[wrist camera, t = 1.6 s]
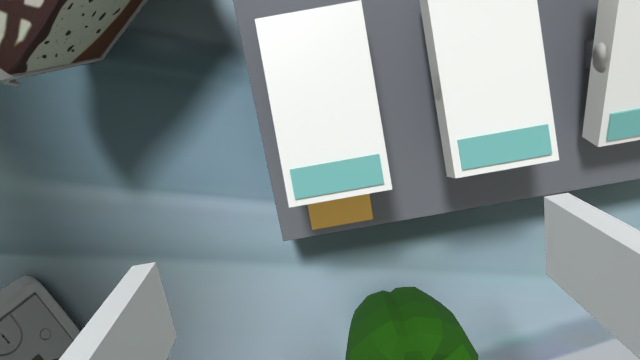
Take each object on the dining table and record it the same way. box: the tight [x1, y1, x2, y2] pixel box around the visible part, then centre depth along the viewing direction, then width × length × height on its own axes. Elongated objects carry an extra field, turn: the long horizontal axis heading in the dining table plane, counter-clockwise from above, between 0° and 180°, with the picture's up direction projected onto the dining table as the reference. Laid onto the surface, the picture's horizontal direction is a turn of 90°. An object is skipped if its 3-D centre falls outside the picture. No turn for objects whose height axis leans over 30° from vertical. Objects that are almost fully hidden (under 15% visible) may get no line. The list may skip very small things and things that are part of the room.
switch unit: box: [233, 0, 640, 241], centre depth 29 cm, size 17×26×6 cm, turn 100°
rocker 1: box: [255, 0, 392, 208], centre depth 25 cm, size 10×6×2 cm, turn 10°
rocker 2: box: [419, 0, 559, 178], centre depth 25 cm, size 10×6×2 cm, turn 10°
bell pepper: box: [346, 287, 478, 360], centre depth 32 cm, size 8×8×10 cm
